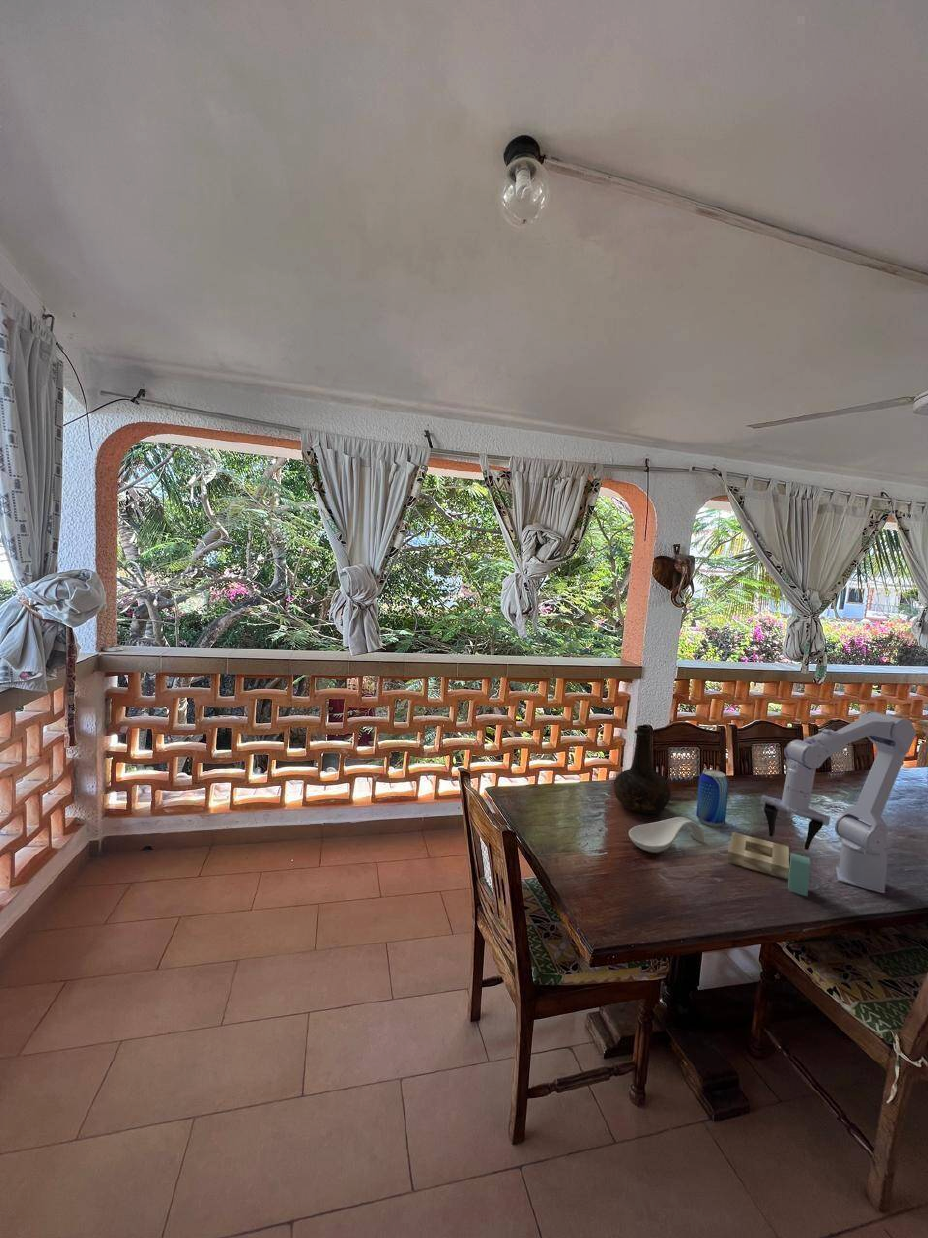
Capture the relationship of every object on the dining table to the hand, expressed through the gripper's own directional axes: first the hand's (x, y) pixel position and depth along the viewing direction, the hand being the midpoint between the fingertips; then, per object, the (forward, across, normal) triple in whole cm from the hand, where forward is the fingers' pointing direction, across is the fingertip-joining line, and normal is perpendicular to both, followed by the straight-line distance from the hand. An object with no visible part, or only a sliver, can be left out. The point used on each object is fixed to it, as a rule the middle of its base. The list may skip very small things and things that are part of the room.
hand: (788, 842), depth 128 cm
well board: (+11, -8, +10) cm, 17 cm away
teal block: (+11, +3, +1) cm, 12 cm away
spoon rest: (+14, -28, 0) cm, 32 cm away
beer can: (+11, -24, +26) cm, 37 cm away
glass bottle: (+13, -44, +18) cm, 50 cm away
